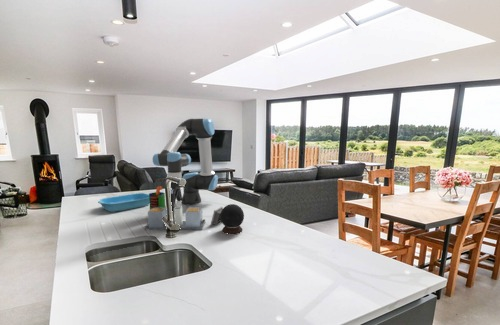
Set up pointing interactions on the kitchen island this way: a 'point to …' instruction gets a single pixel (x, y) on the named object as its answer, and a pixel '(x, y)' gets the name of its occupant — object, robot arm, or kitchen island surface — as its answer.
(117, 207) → the casserole dish
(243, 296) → the kitchen island surface
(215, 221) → the electrical switch
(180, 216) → the block
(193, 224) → the rail
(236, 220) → the black ball on stand
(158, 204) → the motor
